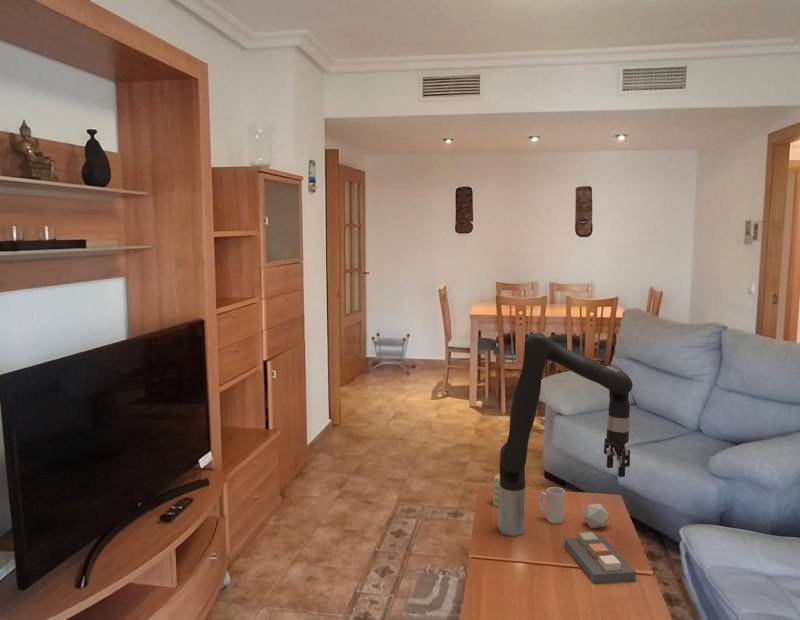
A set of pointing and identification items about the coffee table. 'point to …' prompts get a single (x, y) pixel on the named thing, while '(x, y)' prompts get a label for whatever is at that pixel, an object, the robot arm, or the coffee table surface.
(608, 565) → the key ivory
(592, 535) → the key sage
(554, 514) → the mug
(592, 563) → the key panel
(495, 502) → the box
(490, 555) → the coffee table surface
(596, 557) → the key terracotta
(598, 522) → the die
